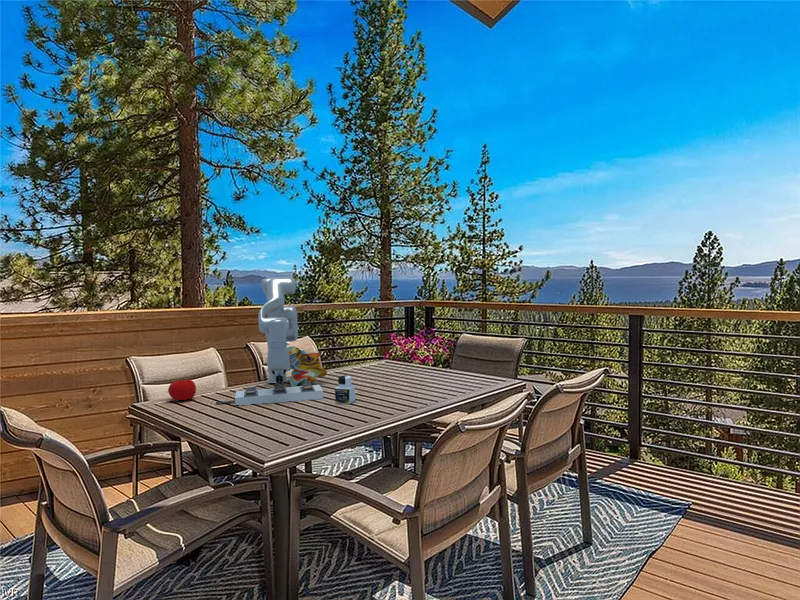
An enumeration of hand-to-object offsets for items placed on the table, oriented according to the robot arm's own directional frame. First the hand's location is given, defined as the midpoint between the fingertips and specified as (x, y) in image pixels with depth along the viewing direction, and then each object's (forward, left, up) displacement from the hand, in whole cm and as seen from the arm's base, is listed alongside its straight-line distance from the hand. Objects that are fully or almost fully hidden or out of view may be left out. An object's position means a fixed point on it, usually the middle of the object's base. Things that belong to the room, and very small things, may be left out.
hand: (279, 383), depth 246 cm
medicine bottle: (+13, +29, -8) cm, 33 cm away
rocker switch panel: (-4, -5, -8) cm, 10 cm away
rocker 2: (-1, +13, -3) cm, 13 cm away
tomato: (-20, -45, -8) cm, 50 cm away
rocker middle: (-1, 0, -3) cm, 3 cm away
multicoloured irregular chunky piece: (-34, +14, -8) cm, 38 cm away
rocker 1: (-1, -13, -3) cm, 13 cm away
